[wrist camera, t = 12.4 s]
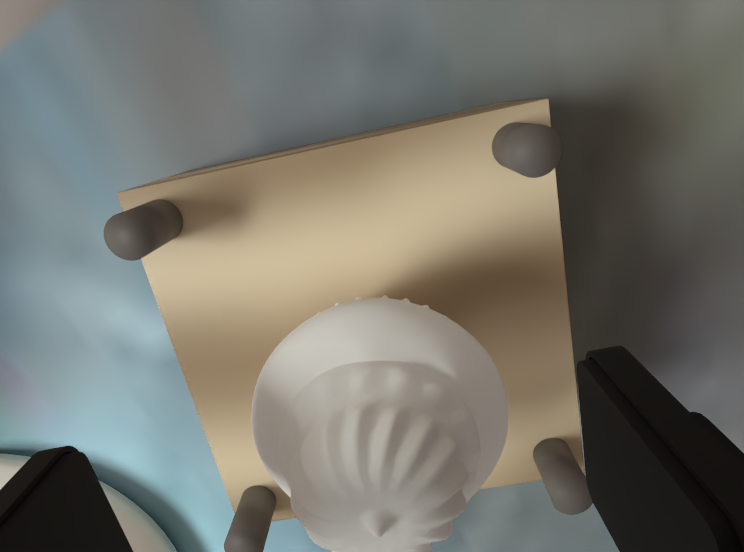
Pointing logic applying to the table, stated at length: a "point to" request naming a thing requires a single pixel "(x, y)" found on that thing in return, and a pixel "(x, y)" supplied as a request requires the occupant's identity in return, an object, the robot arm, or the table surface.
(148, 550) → the white plate
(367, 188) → the pegged square board
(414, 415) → the white rounded piece
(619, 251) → the table surface
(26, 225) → the table surface
